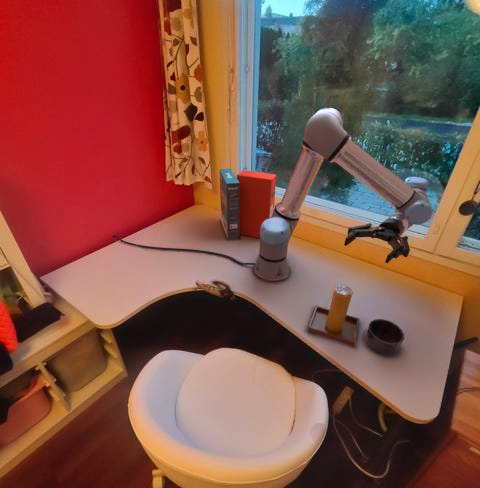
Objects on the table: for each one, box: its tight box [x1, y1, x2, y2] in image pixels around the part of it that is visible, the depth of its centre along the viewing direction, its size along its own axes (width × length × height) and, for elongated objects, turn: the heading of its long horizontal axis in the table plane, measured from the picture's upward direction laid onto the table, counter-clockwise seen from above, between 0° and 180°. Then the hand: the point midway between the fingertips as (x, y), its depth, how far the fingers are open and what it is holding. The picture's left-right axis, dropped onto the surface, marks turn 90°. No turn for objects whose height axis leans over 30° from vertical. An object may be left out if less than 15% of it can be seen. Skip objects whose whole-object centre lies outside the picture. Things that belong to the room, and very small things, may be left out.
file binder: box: [236, 169, 277, 239], centre depth 145 cm, size 8×17×32 cm, turn 68°
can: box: [326, 284, 354, 332], centre depth 94 cm, size 6×6×16 cm
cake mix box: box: [218, 168, 240, 240], centre depth 149 cm, size 22×6×30 cm, turn 12°
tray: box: [307, 305, 360, 348], centre depth 98 cm, size 15×12×2 cm
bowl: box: [364, 318, 405, 357], centre depth 92 cm, size 10×10×6 cm
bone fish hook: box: [195, 279, 236, 301], centre depth 113 cm, size 9×5×18 cm
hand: (365, 250), depth 89 cm, fingers open, 13 cm apart
